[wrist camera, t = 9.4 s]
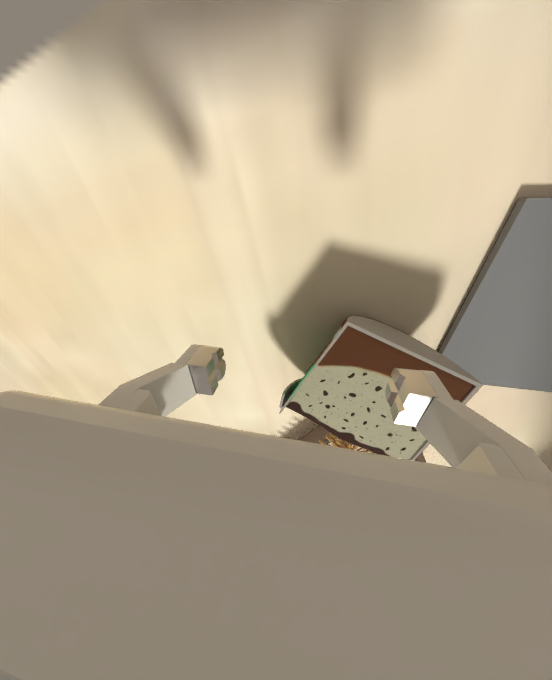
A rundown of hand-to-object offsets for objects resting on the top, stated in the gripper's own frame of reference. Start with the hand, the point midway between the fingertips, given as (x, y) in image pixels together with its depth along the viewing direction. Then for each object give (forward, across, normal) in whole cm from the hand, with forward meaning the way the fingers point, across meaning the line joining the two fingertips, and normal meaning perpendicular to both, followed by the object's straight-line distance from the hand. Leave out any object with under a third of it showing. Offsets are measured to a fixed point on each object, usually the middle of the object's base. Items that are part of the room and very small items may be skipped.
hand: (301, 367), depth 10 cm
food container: (+8, -7, +2) cm, 11 cm away
